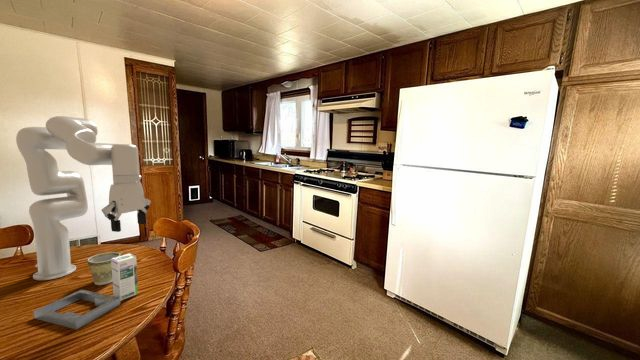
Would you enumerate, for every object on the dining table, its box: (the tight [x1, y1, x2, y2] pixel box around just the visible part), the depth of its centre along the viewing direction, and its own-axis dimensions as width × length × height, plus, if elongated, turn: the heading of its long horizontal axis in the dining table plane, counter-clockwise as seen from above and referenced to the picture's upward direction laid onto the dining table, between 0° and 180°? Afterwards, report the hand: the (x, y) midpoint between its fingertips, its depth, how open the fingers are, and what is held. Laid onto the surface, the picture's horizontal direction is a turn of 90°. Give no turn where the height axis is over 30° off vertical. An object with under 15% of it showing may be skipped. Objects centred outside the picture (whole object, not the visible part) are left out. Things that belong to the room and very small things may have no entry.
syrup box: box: [111, 252, 139, 302], centre depth 93 cm, size 6×6×14 cm
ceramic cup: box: [87, 251, 125, 286], centre depth 104 cm, size 13×10×10 cm
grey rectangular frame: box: [33, 289, 121, 330], centre depth 84 cm, size 18×13×2 cm
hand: (129, 227), depth 92 cm, fingers open, 9 cm apart
